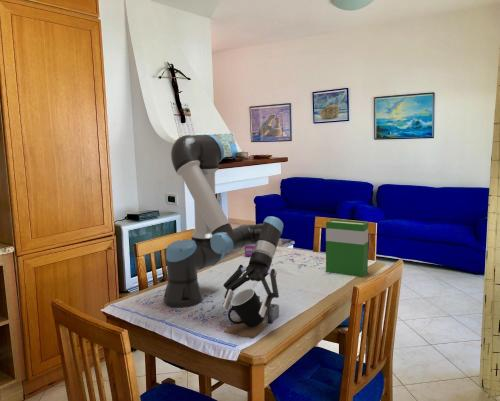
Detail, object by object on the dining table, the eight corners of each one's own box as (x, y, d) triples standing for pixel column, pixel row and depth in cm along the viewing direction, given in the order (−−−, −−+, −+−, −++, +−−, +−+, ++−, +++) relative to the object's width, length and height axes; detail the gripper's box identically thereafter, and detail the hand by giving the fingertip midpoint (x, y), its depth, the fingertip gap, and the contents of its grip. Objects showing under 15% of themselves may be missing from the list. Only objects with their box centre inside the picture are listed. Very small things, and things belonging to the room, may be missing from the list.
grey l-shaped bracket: (246, 318, 157) (246, 302, 156) (256, 310, 164) (256, 295, 163) (271, 323, 152) (271, 307, 151) (280, 315, 159) (280, 299, 158)
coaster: (224, 331, 147) (223, 330, 147) (240, 319, 156) (240, 317, 156) (253, 338, 142) (253, 336, 141) (268, 325, 151) (268, 323, 151)
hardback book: (325, 271, 209) (326, 221, 205) (331, 267, 215) (331, 219, 211) (363, 277, 200) (363, 224, 196) (367, 272, 206) (368, 222, 203)
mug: (265, 308, 154) (251, 285, 151) (270, 320, 145) (256, 295, 143) (235, 325, 153) (221, 302, 151) (238, 338, 145) (223, 313, 142)
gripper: (298, 265, 154) (280, 323, 143) (235, 257, 165) (215, 310, 154) (292, 254, 148) (273, 313, 137) (228, 247, 160) (206, 301, 149)
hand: (242, 312), depth 146 cm, fingers open, 13 cm apart
